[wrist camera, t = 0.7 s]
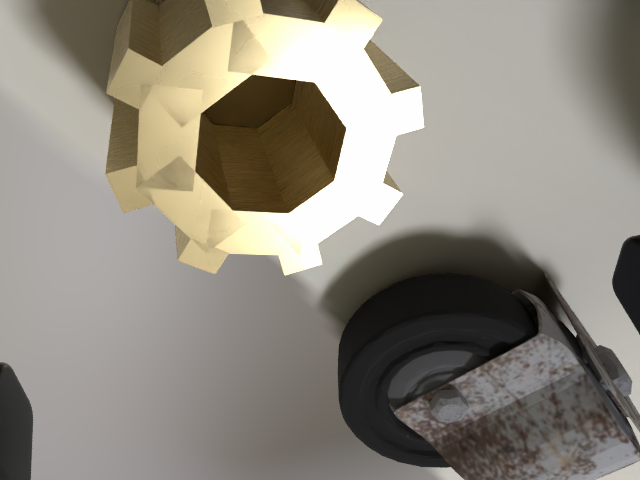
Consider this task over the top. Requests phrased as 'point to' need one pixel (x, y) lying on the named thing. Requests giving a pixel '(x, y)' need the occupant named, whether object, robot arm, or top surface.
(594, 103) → the top surface
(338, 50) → the planet gear
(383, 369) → the caster wheel
